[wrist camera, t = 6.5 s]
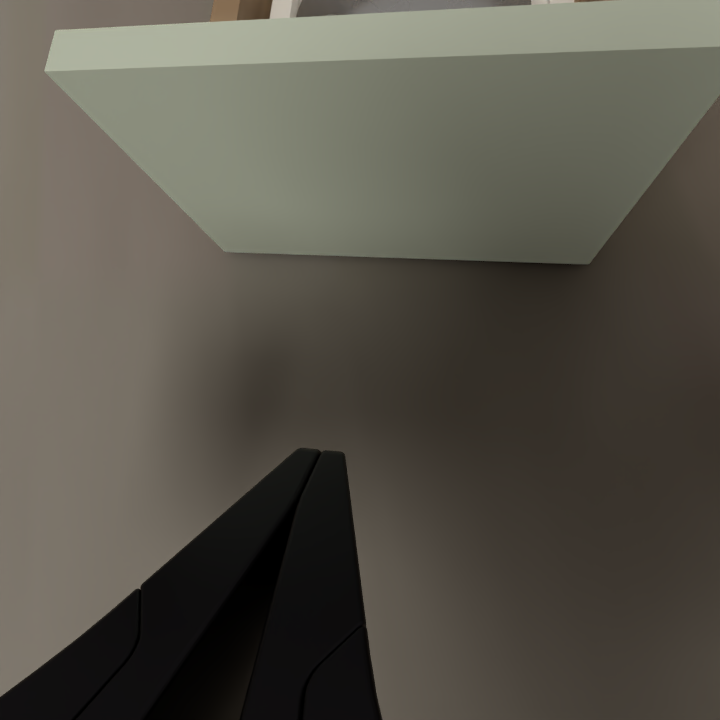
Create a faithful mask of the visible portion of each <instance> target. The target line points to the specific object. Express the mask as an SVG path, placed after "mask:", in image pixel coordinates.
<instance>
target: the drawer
mask: <svg viewBox="0 0 720 720" xmlns="http://www.w3.org/2000/svg"><path fill="white" fill-rule="evenodd" d="M301 1H302V0H273V1H272V7H271V13H270V19H257V20H238V21H220V22H201V23H182V24H164V25H145V26H126V27H108V28H89V29H70V30H55V34H54V37H53V41H52V45H51V49H50V52H49V56H48V60H47V63H46V67H45V71H44V72H45V73H46V74H47V75H48V76H49V77H50V78H51V79H52V80H53V81H54V82H55V83H56V84H57V85H58V86H59V87H60V88H61V89H62V90H63V91H64V92H65V93H66V94H67V95H68V96H69V97H70V98H71V99H72V100H73V101H74V102H75V103H76V104H77V105H78V106H79V107H80V108H81V109H82V110H83V111H84V112H85V113H86V114H87V115H88V116H89V117H90V118H91V119H92V120H93V121H94V122H95V123H96V124H97V125H98V126H99V127H100V128H101V129H102V130H103V131H104V132H105V133H106V134H107V135H108V136H109V137H110V138H111V139H112V140H113V141H114V142H115V143H116V144H117V145H118V146H119V147H120V148H121V149H122V150H123V151H124V152H125V153H126V154H127V155H128V156H129V157H130V158H131V159H132V160H133V161H134V162H135V163H136V164H137V165H138V166H139V167H140V168H141V169H142V170H143V171H144V172H145V173H146V174H147V175H148V176H149V177H150V178H151V179H152V180H153V181H154V182H155V183H156V184H157V185H158V186H159V187H160V188H161V189H162V190H163V191H164V192H165V193H166V194H167V195H168V196H169V197H170V198H171V199H172V200H173V201H174V202H175V203H176V204H177V205H178V206H179V207H180V208H181V209H182V210H183V211H184V212H185V213H186V214H187V215H188V216H189V217H190V218H191V219H192V220H193V221H194V222H195V223H196V224H197V225H198V226H199V227H200V228H201V229H202V230H203V231H204V232H205V233H206V234H207V235H208V236H209V237H210V238H211V239H212V240H213V241H214V242H215V243H216V244H217V245H218V246H219V247H220V248H221V249H222V250H223V251H224V252H238V253H267V254H296V255H326V256H355V257H384V258H413V259H442V260H471V261H500V262H529V263H558V264H588V265H589V264H590V262H591V261H592V260H593V258H594V257H595V256H596V255H597V253H598V252H599V251H600V249H601V248H602V247H603V246H604V244H605V243H606V242H607V240H608V239H609V238H610V236H611V235H612V234H613V233H614V231H615V230H616V229H617V227H618V226H619V225H620V223H621V222H622V221H623V220H624V218H625V217H626V216H627V214H628V213H629V212H630V211H631V209H632V208H633V207H634V205H635V204H636V203H637V201H638V200H639V199H640V198H641V196H642V195H643V194H644V192H645V191H646V190H647V188H648V187H649V186H650V185H651V183H652V182H653V181H654V179H655V178H656V177H657V176H658V174H659V173H660V172H661V170H662V169H663V168H664V166H665V165H666V164H667V163H668V161H669V160H670V159H671V157H672V156H673V155H674V153H675V152H676V151H677V150H678V148H679V147H680V146H681V144H682V143H683V142H684V141H685V139H686V138H687V137H688V135H689V134H690V133H691V131H692V130H693V129H694V128H695V126H696V125H697V124H698V122H699V121H700V120H701V118H702V117H703V116H704V115H705V113H706V112H707V111H708V109H709V108H710V107H711V106H712V104H713V103H714V102H715V100H716V99H717V98H718V96H719V95H720V0H612V1H593V2H575V3H574V0H531V5H519V6H500V7H481V8H462V9H444V10H425V11H406V12H388V13H369V14H350V15H332V16H313V17H296V15H297V12H298V8H299V6H300V4H301Z"/></svg>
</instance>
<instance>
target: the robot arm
mask: <svg viewBox="0 0 720 720" xmlns="http://www.w3.org/2000/svg"><path fill="white" fill-rule="evenodd" d="M0 720H382V716H381V712H380V707H379V703H378V698H377V694H376V687H375V681H374V675H373V669H372V662H371V656H370V648H369V641H368V633H367V628H366V619H365V611H364V603H363V595H362V587H361V579H360V571H359V563H358V555H357V547H356V539H355V531H354V523H353V515H352V507H351V499H350V491H349V483H348V475H347V467H346V459H345V454H344V453H343V452H337V451H327V450H325V451H323V452H321V451H320V450H317V449H308V448H299V449H297V450H296V451H294V452H293V453H292V454H291V455H290V456H289V457H288V458H286V459H285V460H284V461H283V462H282V463H281V464H280V465H278V466H277V467H276V468H275V469H274V470H273V471H271V472H270V473H269V474H268V475H267V476H266V477H265V478H263V479H262V480H261V481H260V482H259V483H258V484H257V485H255V486H254V487H253V488H252V489H251V490H250V491H248V492H247V493H246V494H245V495H244V496H243V497H242V498H240V499H239V500H238V501H237V502H236V503H235V504H233V505H232V506H231V507H230V508H229V509H228V510H227V511H225V512H224V513H223V514H222V515H221V516H220V517H219V518H217V519H216V520H215V521H214V522H213V523H212V524H210V525H209V526H208V527H207V528H206V529H205V530H204V531H202V532H201V533H200V534H199V535H198V536H197V537H196V538H194V539H193V540H192V541H191V542H190V543H189V544H187V545H186V546H185V547H184V548H183V549H182V550H181V551H179V552H178V553H177V554H176V555H175V556H174V557H173V558H171V559H170V560H169V561H168V562H167V563H166V564H164V565H163V566H162V567H161V568H160V569H159V570H158V571H156V572H155V573H154V574H153V575H152V576H151V577H150V578H148V579H147V580H146V581H145V582H144V583H143V584H142V585H141V590H140V589H136V590H134V591H133V592H132V593H131V594H130V595H129V596H127V597H126V598H125V599H124V600H123V601H122V602H121V603H119V604H118V605H117V606H116V607H115V608H114V609H112V610H111V611H110V612H109V613H108V614H106V615H105V616H104V617H103V618H102V619H100V620H99V621H98V622H97V623H96V624H94V625H93V626H92V627H91V628H90V629H88V630H87V631H86V632H85V633H84V634H82V635H81V636H80V637H79V638H77V639H76V640H75V641H73V642H72V643H71V644H70V645H68V646H67V647H66V648H64V649H63V650H62V651H61V652H59V653H58V654H57V655H55V656H54V657H53V658H51V659H50V660H49V661H48V662H46V663H45V664H44V665H42V666H41V667H40V668H38V669H37V670H36V671H34V672H33V673H32V674H30V675H29V676H28V677H26V678H25V679H24V680H22V681H21V682H20V683H18V684H17V685H16V686H14V687H13V688H12V689H10V690H9V691H8V692H6V693H5V694H4V695H2V696H1V697H0Z"/></svg>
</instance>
